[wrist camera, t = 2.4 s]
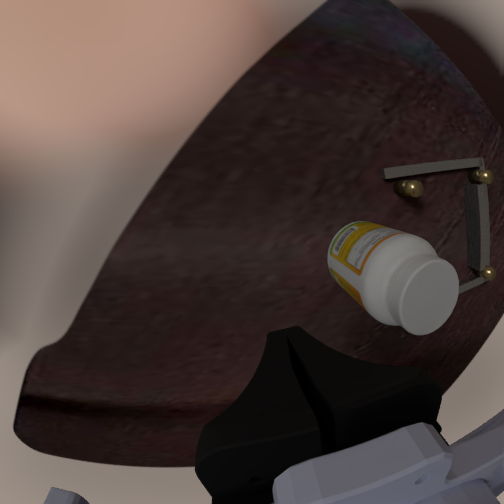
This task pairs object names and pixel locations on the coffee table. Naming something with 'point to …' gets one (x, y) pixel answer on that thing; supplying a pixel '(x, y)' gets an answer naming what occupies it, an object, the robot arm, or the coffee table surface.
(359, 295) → the supplement bottle
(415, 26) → the coffee table surface
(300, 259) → the coffee table surface
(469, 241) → the frame
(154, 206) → the coffee table surface
